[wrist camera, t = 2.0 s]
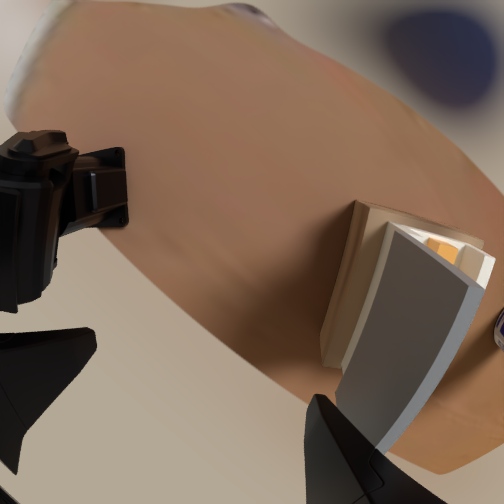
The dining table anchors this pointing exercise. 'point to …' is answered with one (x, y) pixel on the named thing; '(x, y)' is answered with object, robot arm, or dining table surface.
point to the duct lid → (406, 340)
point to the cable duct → (450, 249)
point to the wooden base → (367, 271)
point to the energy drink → (499, 331)
